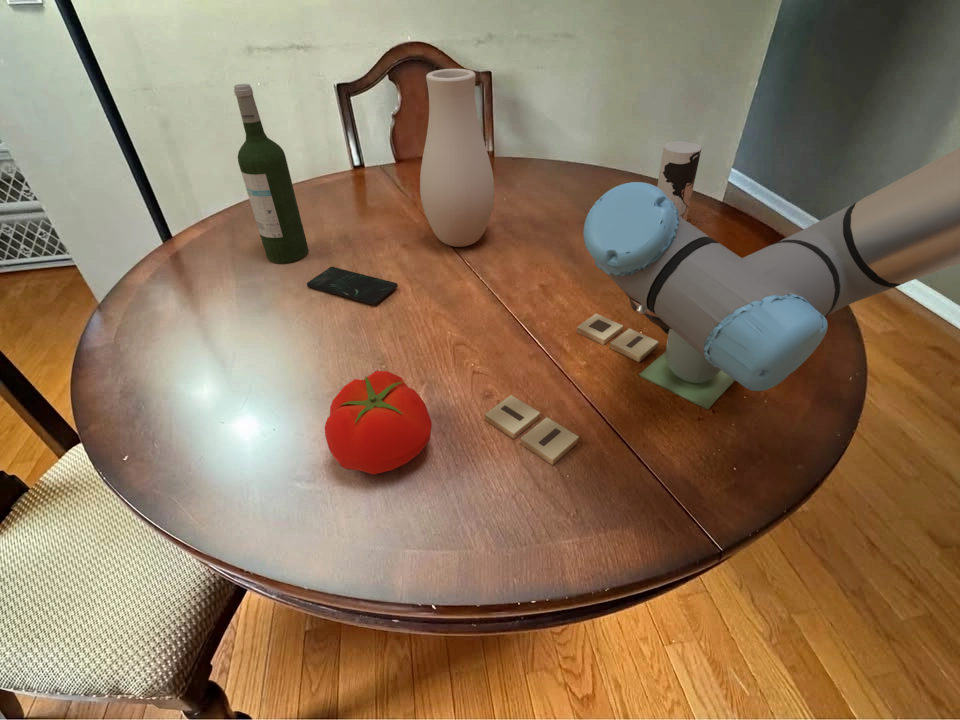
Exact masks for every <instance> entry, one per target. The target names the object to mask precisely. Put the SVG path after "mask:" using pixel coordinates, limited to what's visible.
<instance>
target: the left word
mask: <svg viewBox="0 0 960 720" xmlns="http://www.w3.org/2000/svg"><path fill="white" fill-rule="evenodd" d="M483 417H484V421H486V422H487V423H489V424H490V425H492V426H493V427H495V428H496V429H497V430H499V431H500V432H502V433H504V434H505V435H506V436H508V437H509V438H512V439H513V440H515V439H516V438H518V437H519V436H520V435H521V434H523V433H524V432H525V431H526V430H528V429H529V428H530V427H531V426H533V425H534V424H535V423H536V422H538V421H539V420H540V419H541V412H540V411H538V410H537V409H535V408H534V407H532V406H531V405H528V404H527V403H525V402H524V401H522V400H520V399H519V398H517V397H515V396H514V395H513V394H510V395H509V396H507V397H506V398H504V399H503V400H502V401H501V402H499V403H497V404H496V405H495V406H494V407H492V408H491V409H489V410H488V411H486V412H485V413H484V416H483ZM579 441H580V436H579V435H577V434H575V433H574V432H572V431H571V430H569V429H568V428H566V427H564V426H563V425H561V424H559V423H558V422H556V421H555V420H553V419H551V418H550V417H547V416H546V417H545V418H543V419H542V420H541V421H540V422H539V423H538V424H536V425H535V426H534V427H532V428H531V429H530V430H529V431H527V432H526V433H525V434H524V435H522V436H521V437H520V442H519V444H520V445H521V446H523V447H524V448H526V449H528V450H529V451H530V452H532V453H533V454H535V455H537V456H538V457H539V458H540V459H543V460H544V461H545V462H547V463H548V464H549V465H551V466H554V465H555V464H556V463H557V462H558V461H559V460H560V459H561V458H563V457H564V456H565V455H566V454H567V453H568V452H570V451H571V450H572V449H573V448H574V447H575V446H576V445H578V444H579Z"/></svg>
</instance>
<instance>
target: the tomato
mask: <svg viewBox="0 0 960 720" xmlns="http://www.w3.org/2000/svg"><path fill="white" fill-rule="evenodd" d="M432 425H433V422H432V419H431V416H430V414H429V410H428V408H427V405H426V404H425V402H424V400H423V399H422V397H421V395H419V393H418V392H417V391H416V390H415V389H414V388H411V387H409V386H408V385H407V383H406V382H405V380H404V379H403V377H402V376H399V375H397V374H395V373H392V372H391V371H387V370H374V372H372V373H371V374H370V375H368V376H366V375H364V379H357V378H355V379H353V380H351V381H350V382H348V383H347V384H345V385H344V386H343V387H342V389H341V390H340V391H339V392H338V393H337V394H336V396H335V397H334V398H333V399H332V401H331V404H330V407H329V416H328V417H327V418H326V421H325V425H324V436H325V440H326V444H327V447H328V449H329V451H330V453H331V455H332V457H333V458H334V459H335V460H336V461H337V463H338V464H339V465H340V466H341V467H343V468H344V469H346V470H353V471H361V472H364V473H368V474H371V475H377V474H382V473H386V472H391V471H393V470H396V469H397V468H399V467H402V466H404V465H406V464H408V463H409V462H410V461H412V460H413V459H414V458H415V457H417V456H418V455H419V454H420V453H421V452H422V451H423V449H424V448H425V447H426V445H427V444H428V443H429V442H430V440H431V432H432Z"/></svg>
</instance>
